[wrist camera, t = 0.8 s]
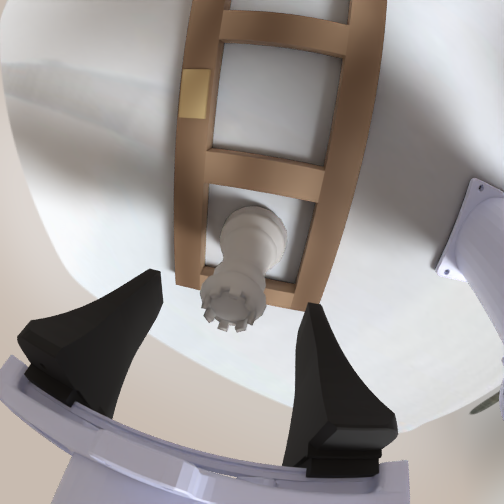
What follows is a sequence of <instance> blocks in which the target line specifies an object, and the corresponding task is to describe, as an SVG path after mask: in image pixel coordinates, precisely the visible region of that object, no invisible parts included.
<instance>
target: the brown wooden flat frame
mask: <svg viewBox="0 0 504 504" xmlns="http://www.w3.org/2000/svg"><path fill="white" fill-rule="evenodd" d="M230 5H231V0H193V2H192V7H191V12H190V18H189V24H188V30H187V36H186V43H185V50H184V57H183V65H182V74H181V83H180V93H179V104H178V116H177V130H176V148H175V172H174V254H175V279H176V285H180V286H184V287H188V288H193V289H197V290H201V286H202V283H203V282H204V281H205V280H206V279H207V278H208V277H209V276H211V275H213V274H214V270H215V268H213V267H208V266H205V249H206V228H207V210H208V194H209V184H216V185H223V186H229V187H235V188H241V189H247V190H253V191H259V192H265V193H270V194H276V195H281V196H286V197H291V198H296V199H301V200H306V201H311V202H315V207H314V211H313V215H312V220H311V224H310V228H309V232H308V236H307V240H306V244H305V248H304V252H303V256H302V260H301V263H300V267H299V271H298V275H297V279H296V282H295V284H293V283H287V282H282V281H277V280H272V279H267V278H265V283H266V287H265V289H264V294H265V296H266V304H267V305H272V306H277V307H282V308H287V309H293V310H298V311H304V312H305V310H306V307H307V304H308V302H311V303H316V304H319V303H320V300H321V298H322V295H323V292H324V289H325V286H326V283H327V281H328V278H329V275H330V272H331V269H332V266H333V263H334V260H335V257H336V253H337V250H338V247H339V244H340V241H341V237H342V234H343V231H344V228H345V224H346V221H347V217H348V214H349V210H350V207H351V203H352V199H353V196H354V192H355V188H356V184H357V180H358V176H359V172H360V168H361V164H362V160H363V156H364V151H365V147H366V143H367V138H368V133H369V128H370V124H371V119H372V113H373V108H374V103H375V97H376V91H377V85H378V79H379V72H380V65H381V58H382V50H383V42H384V32H385V22H386V9H387V0H350V3H349V13H348V22H347V25H345V24H341V23H337V22H332V21H328V20H323V19H317V18H312V17H306V16H299V15H292V14H284V13H275V12H263V11H244V10H230ZM224 43H239V44H254V45H266V46H275V47H283V48H290V49H297V50H303V51H309V52H314V53H319V54H324V55H329V56H333V57H337V58H342V59H343V60H342V67H341V73H340V80H339V86H338V92H337V98H336V104H335V109H334V115H333V120H332V126H331V131H330V136H329V141H328V146H327V151H326V156H325V161H324V166H318V165H314V164H309V163H304V162H299V161H294V160H289V159H283V158H278V157H272V156H266V155H260V154H253V153H246V152H239V151H232V150H224V149H216V148H212V144H213V133H214V123H215V113H216V104H217V95H218V87H219V79H220V71H221V63H222V56H223V49H224Z"/></svg>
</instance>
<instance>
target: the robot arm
mask: <svg viewBox="0 0 504 504" xmlns="http://www.w3.org/2000/svg"><path fill="white" fill-rule="evenodd" d="M480 185H481V188H480V190H479V186H480ZM447 269H448V270H447ZM435 270H436V273H437V275H439V276H442V277H446V278H451V279H455V280H460V281H464V282H468V284H469V285H470V287H471V288H472V290H473V291H474V293H475V294H476V296H477V298H478V299H479V301H480V303H481V304H482V306H483V308H484V309H485V311H486V313H487V314H488V316H489V318H490V320H491V321H492V323H493V325H494V327H495V329H496V331H497V333H498V334H499V336H500V338H501V340H502V342H503V344H504V192H503V191H501V190H499V189H497V188H495V187H493V186H491V185H489V184H487V183H485V182H483V181H481V180H479V179H477V178H472V179H471V181H470V183H469V186H468V189H467V192H466V195H465V198H464V201H463V204H462V207H461V210H460V212H459V215H458V218H457V220H456V223H455V225H454V228H453V230H452V233H451V235H450V238H449V240H448V242H447V245H446V247H445V249H444V251H443V254H442V256H441V258H440V260H439V262H438V264H437V267H436V269H435ZM445 270H447V271H446V272H445ZM162 304H163V294H162V284H161V272H160V271H157V270H153V269H148V270H147V271H145V272H143V273H142V274H140V275H138V276H137V277H135V278H134V279H132V280H131V281H129V282H127V283H126V284H124V285H123V286H121V287H119V288H118V289H116V290H114V291H112V292H111V293H109V294H107V295H105V296H104V297H102V298H100V299H98V300H96V301H94V302H92V303H89V304H87V305H85V306H83V307H80V308H77V309H74V310H72V311H69V312H66V313H63V314H59V315H56V316H52V317H47V318H43V319H37V320H31V321H30V322H29V323H28V324H27V325H26V327H25V328H24V329H23V330H22V331H21V333H20V334H19V335H18V336H17V340H18V344H19V346H20V347H21V349H22V351H23V352H24V354H25V355H26V357H27V358H28V360H29V361H30V363H31V365H30V366H29V367H27V366H26V365H25V364H24V363H23V362H22V361H20V360H19V359H18V358H16V357H15V356H14V355H11V356H10V357H9V358H8V360H7V361H6V362H5V364H4V365H3V367H2V368H1V369H0V400H1V401H2V402H3V403H4V404H5V405H6V406H7V407H8V408H9V409H10V410H11V411H12V412H13V413H14V414H15V415H17V416H18V417H19V418H20V419H21V420H23V421H24V422H25V423H27V424H28V425H29V426H30V427H32V428H33V429H34V430H35V431H37V432H38V433H39V434H41V435H42V436H43V437H45V438H46V439H48V440H49V441H50V442H52V443H53V444H55V445H56V446H58V447H59V448H61V449H62V450H64V451H65V452H67V453H69V454H70V455H72V457H71V460H70V462H69V464H68V466H67V468H66V470H65V472H64V475H63V477H62V479H61V481H60V484H59V486H58V488H57V490H56V493H55V495H54V497H53V500H52V502H51V504H410V490H409V489H410V487H409V469H408V461H407V460H402V461H393V462H385V463H381V464H379V458H381V456H382V450H381V449H383V448H384V447H385V446H387V445H388V444H390V443H391V442H392V441H393V440H394V439H396V437H397V435H398V429H397V421H396V417H395V413H393V412H392V411H391V410H390V409H389V408H388V407H387V406H385V405H384V404H383V403H382V402H381V401H380V400H379V399H378V398H377V397H376V396H375V395H374V394H373V393H372V392H371V391H370V390H369V388H368V387H367V386H366V385H365V384H364V382H363V381H362V380H361V379H360V377H359V376H358V375H357V373H356V372H355V371H354V369H353V368H352V366H351V365H350V363H349V362H348V360H347V358H346V357H345V355H344V353H343V351H342V350H341V348H340V346H339V344H338V342H337V340H336V338H335V336H334V334H333V332H332V329H331V327H330V325H329V323H328V320H327V318H326V315H325V313H324V310H323V307H322V306H321V304H316V303H311V302H308V304H307V307H306V310H305V313H304V316H303V319H302V321H301V324H300V327H299V330H298V335H297V343H296V358H295V398H294V405H293V412H292V418H291V424H290V430H289V436H288V440H287V446H286V451H285V455H284V459H283V464H282V466H276V465H268V464H261V463H255V462H249V461H243V460H237V459H232V458H228V457H223V456H218V455H214V454H210V453H206V452H202V451H198V450H195V449H191V448H188V447H184V446H181V445H178V444H174V443H171V442H168V441H165V440H162V439H159V438H157V437H154V436H151V435H148V434H145V433H143V432H140V431H138V430H135V429H133V428H130V427H128V426H126V425H123V424H121V423H119V422H116V421H114V420H112V418H113V414H114V410H115V407H116V403H117V399H118V397H119V394H120V391H121V387H122V385H123V382H124V379H125V376H126V374H127V372H128V369H129V367H130V364H131V362H132V360H133V358H134V356H135V354H136V352H137V350H138V348H139V346H140V345H141V343H142V342H143V340H144V338H145V337H146V335H147V333H148V332H149V330H150V328H151V327H152V325H153V323H154V322H155V320H156V318H157V316H158V314H159V311H160V309H161V307H162ZM502 363H503V365H504V356H503V358H502ZM499 402H500V410H501V414H502V418H503V420H504V379H503V382H502V384H501V388H500V396H499ZM210 471H211V472H210ZM213 472H215V473H213ZM216 473H219V474H216ZM220 474H224V475H229V476H234V477H237V478H236V479H235V478H231V477H227V476H223V475H220Z"/></svg>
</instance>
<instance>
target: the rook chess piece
mask: <svg viewBox="0 0 504 504" xmlns="http://www.w3.org/2000/svg"><path fill="white" fill-rule="evenodd" d="M286 244H287V230H286V228H285V226H284V224H283V223H282V221H281V219H280V218H279V217H277V216H276V215H275V214H274V213H273V212H271V211H270V210H267V209H264V208H261V207H258V206H255V207H243V208H241V209H239V210H236V211H234V212H233V213H232V214H231V215H230V216H229V217H228V218H227V219H226V221H225V223H224V226H223V228H222V232H221V235H220V245H221V251H222V253H223V257H224V258H223V262H221V263H220V264H219V265H218V266H217V267H216V268H215V270H214V274H213V275H211V276H209V277H208V278H207V279H206V280H205V281H204V282H203V283H202V286H201V291H200V296H201V299H202V307H201V308H204V309H206V311H205V313H204V317H205V318H206V320H207V321H208V322H209V323H210V322H212V321H213V320H214V318H215V319H216V320H217V321H219V322H220V323H219V325H218V328H217V329H220V330H223V331H226V332H227V330H228V327H229V325H232V326H235V330H236V332H241V331H245V330H246V327H247V324H250V325H253V323H254V321H255V320H256V319H258V318H259V317H260V316H262V315H263V313H264V310H265V308H266V296H265V294H264V289H265V287H266V283H265V277H264V275H265V273H266V272H267V271H268V270H269V269H271V268H273V267H274V266H275V265H276V264H277V263H278V262H279V261H280V260H281V258H282V256H283V253H284V251H285V247H286Z"/></svg>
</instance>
